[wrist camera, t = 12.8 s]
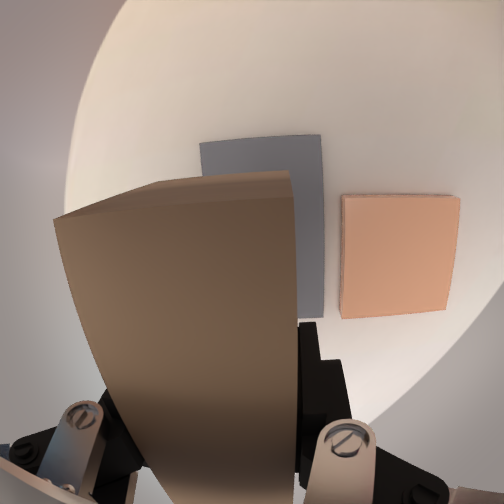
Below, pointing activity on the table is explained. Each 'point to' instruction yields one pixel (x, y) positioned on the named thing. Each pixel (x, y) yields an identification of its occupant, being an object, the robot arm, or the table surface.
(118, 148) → the table surface
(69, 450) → the robot arm
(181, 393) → the block
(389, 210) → the tile
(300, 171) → the mat
